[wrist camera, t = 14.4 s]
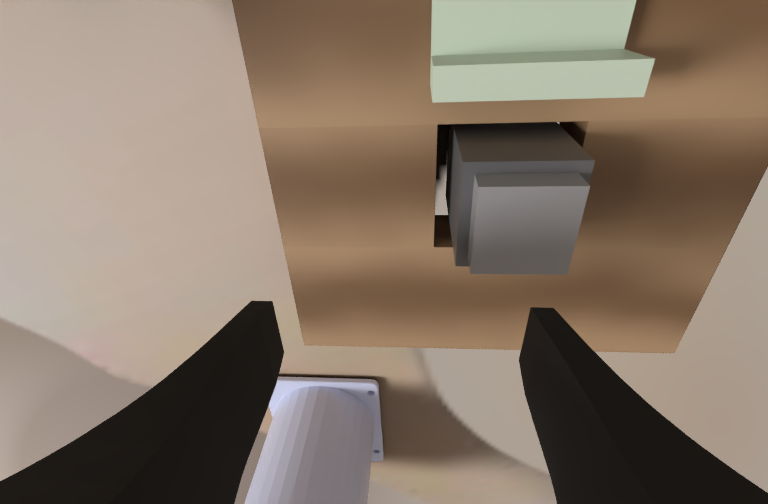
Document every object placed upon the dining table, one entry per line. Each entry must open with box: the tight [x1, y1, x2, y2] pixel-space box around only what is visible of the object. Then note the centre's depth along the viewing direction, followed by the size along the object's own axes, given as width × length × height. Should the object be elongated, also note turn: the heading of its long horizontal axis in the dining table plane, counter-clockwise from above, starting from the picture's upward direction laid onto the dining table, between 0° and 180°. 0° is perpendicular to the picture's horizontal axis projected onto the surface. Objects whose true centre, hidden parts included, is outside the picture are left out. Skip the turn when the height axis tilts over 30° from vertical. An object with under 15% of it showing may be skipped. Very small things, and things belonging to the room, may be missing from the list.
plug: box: [446, 122, 595, 275], centre depth 16 cm, size 4×4×7 cm
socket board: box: [232, 0, 768, 353], centre depth 18 cm, size 18×19×3 cm
